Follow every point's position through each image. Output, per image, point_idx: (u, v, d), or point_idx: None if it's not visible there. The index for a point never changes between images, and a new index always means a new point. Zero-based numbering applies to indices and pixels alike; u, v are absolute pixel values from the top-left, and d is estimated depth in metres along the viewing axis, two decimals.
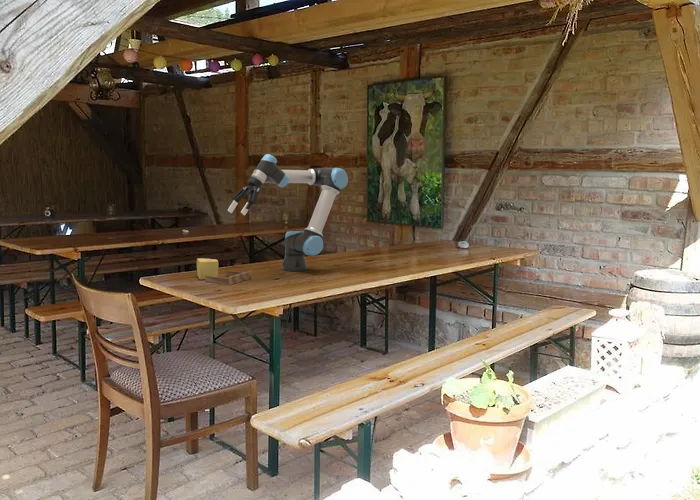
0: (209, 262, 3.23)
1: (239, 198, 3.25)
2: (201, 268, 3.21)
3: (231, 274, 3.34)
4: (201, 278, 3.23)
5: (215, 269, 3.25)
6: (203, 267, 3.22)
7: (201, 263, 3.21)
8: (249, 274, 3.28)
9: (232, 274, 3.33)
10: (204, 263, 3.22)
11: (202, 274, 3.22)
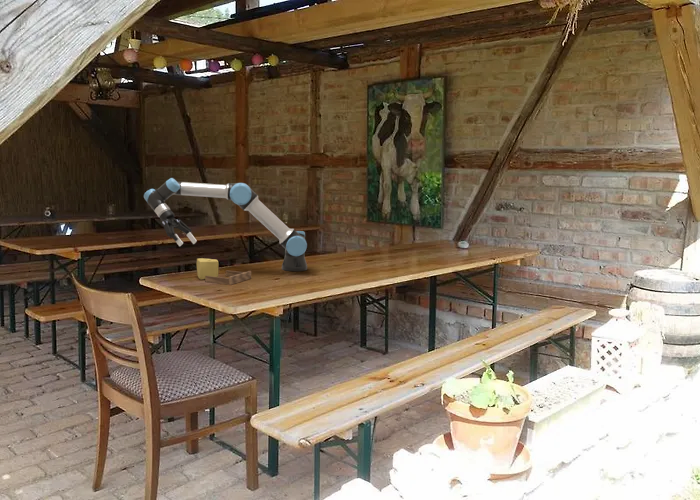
0: (209, 262, 3.23)
1: (184, 230, 3.36)
2: (201, 268, 3.21)
3: (231, 274, 3.34)
4: (201, 278, 3.23)
5: (215, 269, 3.25)
6: (203, 267, 3.22)
7: (201, 263, 3.21)
8: (249, 274, 3.28)
9: (232, 274, 3.33)
10: (204, 263, 3.22)
11: (202, 274, 3.22)
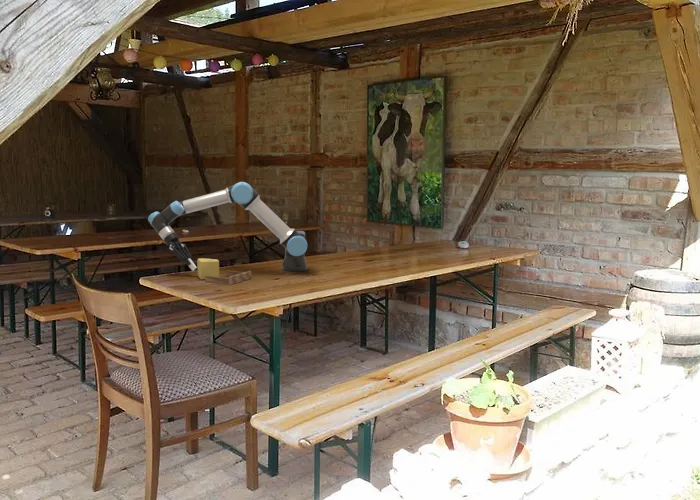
0: (210, 262, 3.23)
1: None
2: (202, 268, 3.21)
3: (231, 274, 3.34)
4: (202, 278, 3.22)
5: (216, 269, 3.25)
6: (204, 266, 3.22)
7: (202, 263, 3.21)
8: (249, 274, 3.28)
9: (232, 274, 3.33)
10: (205, 263, 3.22)
11: (203, 274, 3.22)
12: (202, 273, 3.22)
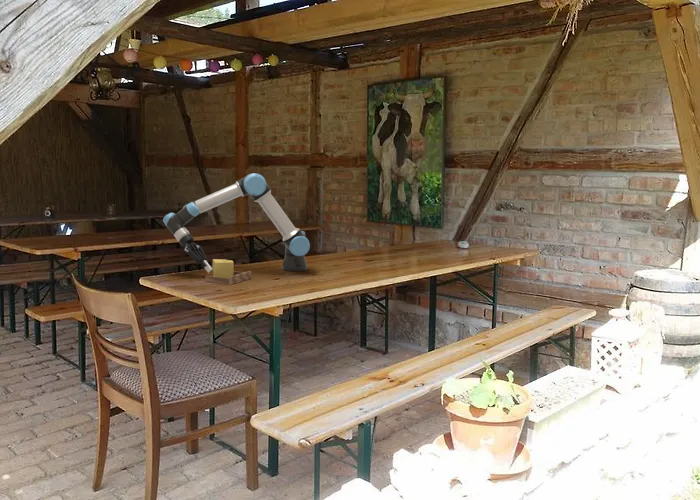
0: (224, 263, 3.21)
1: None
2: (216, 269, 3.20)
3: None
4: None
5: (230, 270, 3.23)
6: (218, 267, 3.20)
7: (216, 264, 3.20)
8: (249, 274, 3.28)
9: None
10: (219, 264, 3.20)
11: (217, 275, 3.20)
12: (216, 274, 3.20)
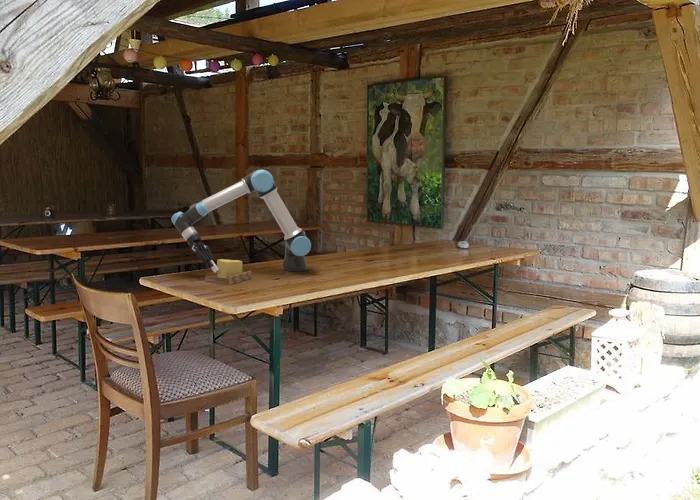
0: (234, 262, 3.21)
1: None
2: (227, 268, 3.19)
3: None
4: None
5: (239, 269, 3.23)
6: (229, 267, 3.19)
7: (227, 263, 3.19)
8: (249, 274, 3.28)
9: None
10: (229, 263, 3.20)
11: (227, 274, 3.19)
12: (227, 273, 3.19)
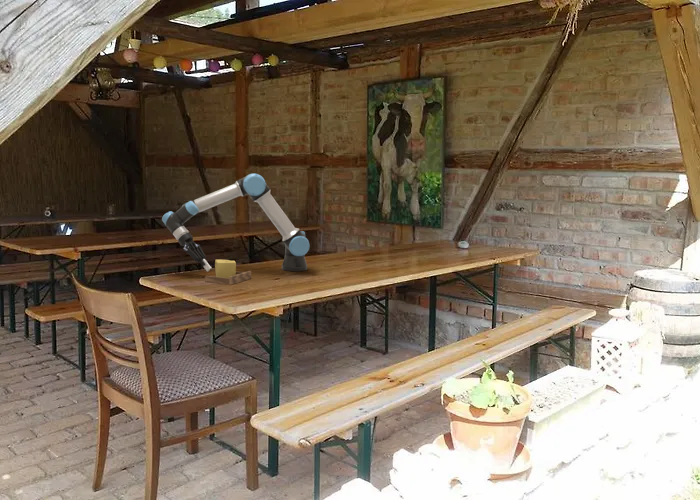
0: (226, 263, 3.21)
1: None
2: (218, 269, 3.20)
3: None
4: None
5: (232, 270, 3.22)
6: (220, 268, 3.20)
7: (218, 264, 3.20)
8: (249, 274, 3.28)
9: None
10: (221, 264, 3.20)
11: (219, 275, 3.20)
12: (219, 274, 3.20)
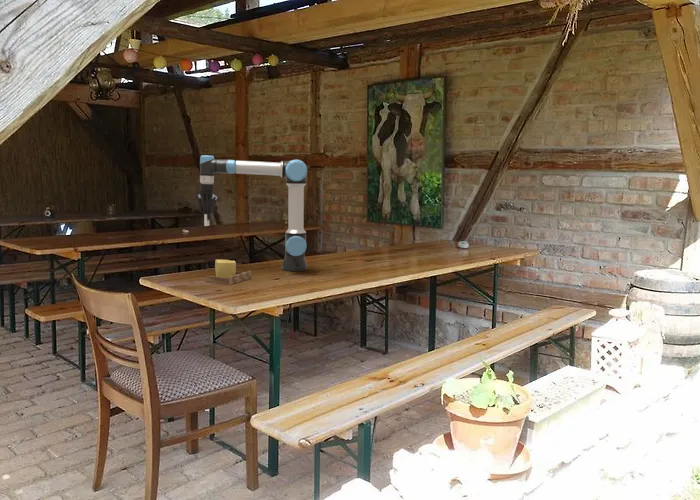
0: (226, 263, 3.21)
1: (205, 208, 3.40)
2: (218, 269, 3.20)
3: None
4: None
5: (232, 270, 3.22)
6: (220, 268, 3.20)
7: (218, 264, 3.20)
8: (249, 274, 3.28)
9: None
10: (221, 264, 3.20)
11: (219, 275, 3.20)
12: (219, 274, 3.20)
